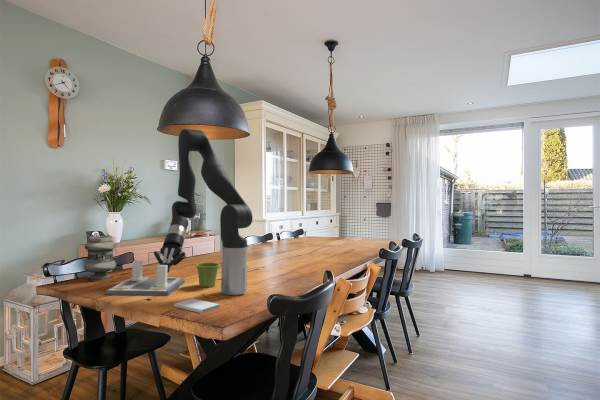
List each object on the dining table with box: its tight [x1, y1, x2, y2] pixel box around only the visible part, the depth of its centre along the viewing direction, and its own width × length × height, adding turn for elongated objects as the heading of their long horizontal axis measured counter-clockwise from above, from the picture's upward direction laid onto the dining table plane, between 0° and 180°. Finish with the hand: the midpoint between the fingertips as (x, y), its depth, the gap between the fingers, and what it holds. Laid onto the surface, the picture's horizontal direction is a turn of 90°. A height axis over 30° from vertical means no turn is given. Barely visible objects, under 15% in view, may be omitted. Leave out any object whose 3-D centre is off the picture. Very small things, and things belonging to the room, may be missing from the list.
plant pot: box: [195, 262, 221, 288], centre depth 146 cm, size 9×9×9 cm
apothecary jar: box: [83, 235, 117, 282], centre depth 155 cm, size 12×12×18 cm
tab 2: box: [156, 264, 168, 287], centre depth 136 cm, size 3×4×8 cm
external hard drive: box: [174, 298, 221, 314], centre depth 117 cm, size 2×8×12 cm
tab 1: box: [130, 260, 144, 281], centre depth 145 cm, size 3×4×8 cm
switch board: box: [105, 276, 186, 296], centre depth 140 cm, size 22×21×2 cm
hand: (164, 273), depth 138 cm, fingers closed
